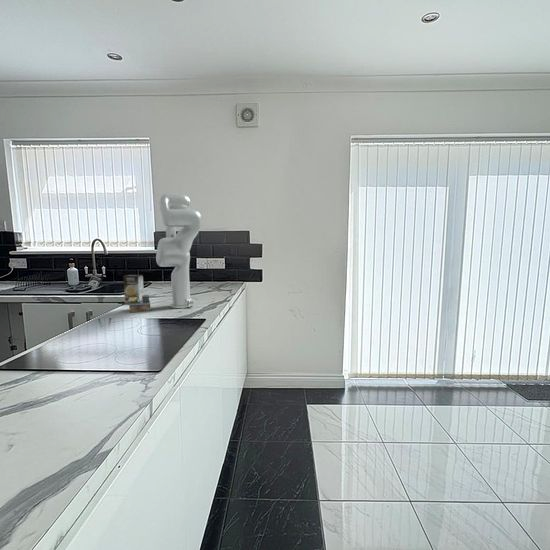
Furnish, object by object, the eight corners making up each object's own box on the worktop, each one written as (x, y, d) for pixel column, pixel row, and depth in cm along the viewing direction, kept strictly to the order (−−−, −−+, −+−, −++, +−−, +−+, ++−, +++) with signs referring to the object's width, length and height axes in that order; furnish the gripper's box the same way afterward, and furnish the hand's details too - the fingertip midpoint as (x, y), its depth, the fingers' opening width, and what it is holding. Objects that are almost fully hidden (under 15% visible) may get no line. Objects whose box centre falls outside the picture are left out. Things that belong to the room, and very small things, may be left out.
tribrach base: (149, 307, 187) (149, 301, 187) (150, 310, 180) (150, 304, 180) (129, 309, 184) (129, 303, 183) (129, 312, 176) (129, 306, 176)
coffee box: (124, 303, 197) (122, 275, 195) (130, 301, 204) (128, 274, 201) (139, 304, 196) (137, 276, 194) (144, 301, 203) (143, 274, 201)
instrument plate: (149, 301, 187) (149, 294, 186) (150, 304, 180) (150, 296, 179) (129, 302, 183) (129, 295, 183) (129, 305, 176) (129, 298, 175)
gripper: (163, 223, 208) (164, 253, 211) (165, 222, 194) (166, 255, 197) (175, 223, 211) (177, 253, 213) (178, 222, 197) (180, 255, 200)
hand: (172, 254), depth 205 cm, fingers closed
